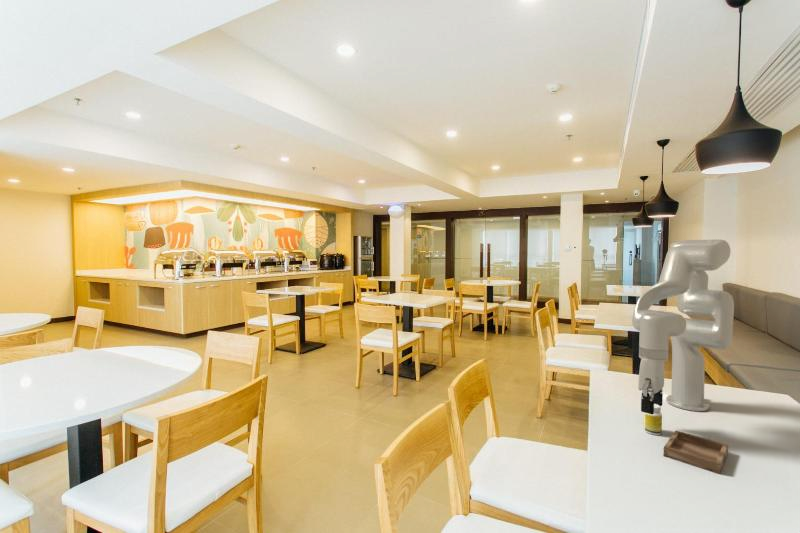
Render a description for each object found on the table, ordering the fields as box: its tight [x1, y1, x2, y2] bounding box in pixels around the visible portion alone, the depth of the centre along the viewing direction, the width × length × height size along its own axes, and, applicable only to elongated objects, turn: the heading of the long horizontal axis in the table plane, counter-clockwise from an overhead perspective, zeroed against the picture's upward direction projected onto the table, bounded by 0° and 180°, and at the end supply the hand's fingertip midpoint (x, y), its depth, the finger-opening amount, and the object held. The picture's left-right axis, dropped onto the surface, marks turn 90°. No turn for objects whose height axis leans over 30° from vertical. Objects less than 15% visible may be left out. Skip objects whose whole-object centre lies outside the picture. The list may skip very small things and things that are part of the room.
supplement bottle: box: [643, 404, 663, 436], centre depth 119 cm, size 5×5×8 cm
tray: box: [663, 430, 729, 475], centre depth 105 cm, size 14×12×2 cm
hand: (651, 408), depth 118 cm, fingers open, 9 cm apart
